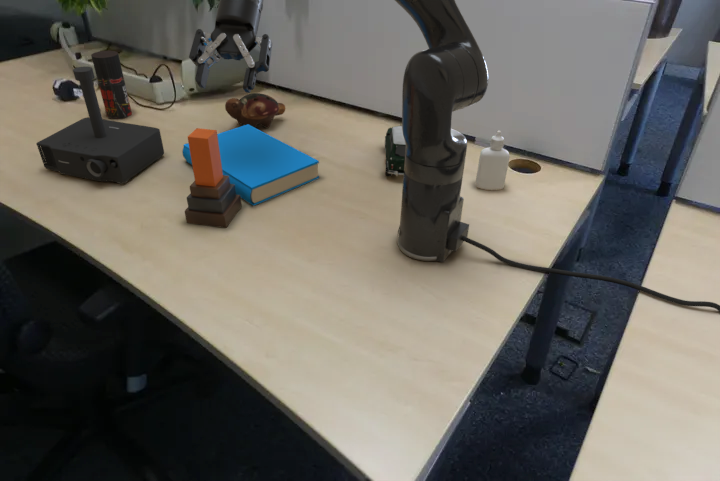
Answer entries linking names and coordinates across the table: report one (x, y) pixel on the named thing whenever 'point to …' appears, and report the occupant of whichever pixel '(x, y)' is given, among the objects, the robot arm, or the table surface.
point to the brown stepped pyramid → (212, 204)
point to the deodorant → (111, 84)
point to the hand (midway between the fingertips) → (223, 88)
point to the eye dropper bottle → (493, 165)
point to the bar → (205, 157)
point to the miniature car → (395, 151)
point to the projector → (100, 143)
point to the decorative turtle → (254, 109)
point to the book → (261, 164)
